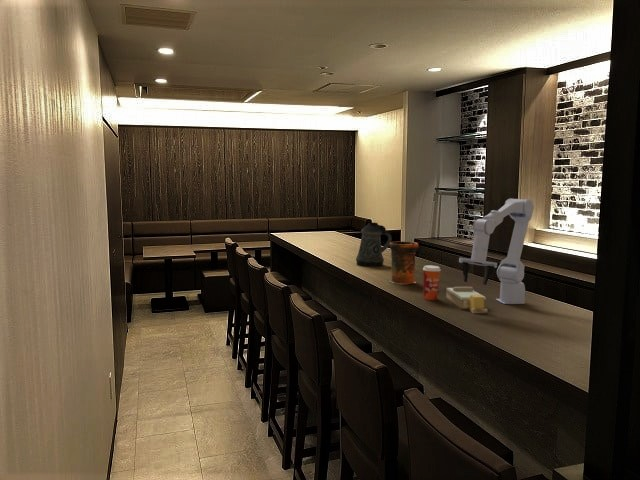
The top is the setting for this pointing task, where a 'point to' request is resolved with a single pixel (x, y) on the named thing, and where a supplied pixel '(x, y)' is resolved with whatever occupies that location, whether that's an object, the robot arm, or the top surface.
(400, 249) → the vessel
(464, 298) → the lid
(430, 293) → the paper cup
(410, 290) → the top surface
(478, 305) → the yellow block
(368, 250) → the beer stein
